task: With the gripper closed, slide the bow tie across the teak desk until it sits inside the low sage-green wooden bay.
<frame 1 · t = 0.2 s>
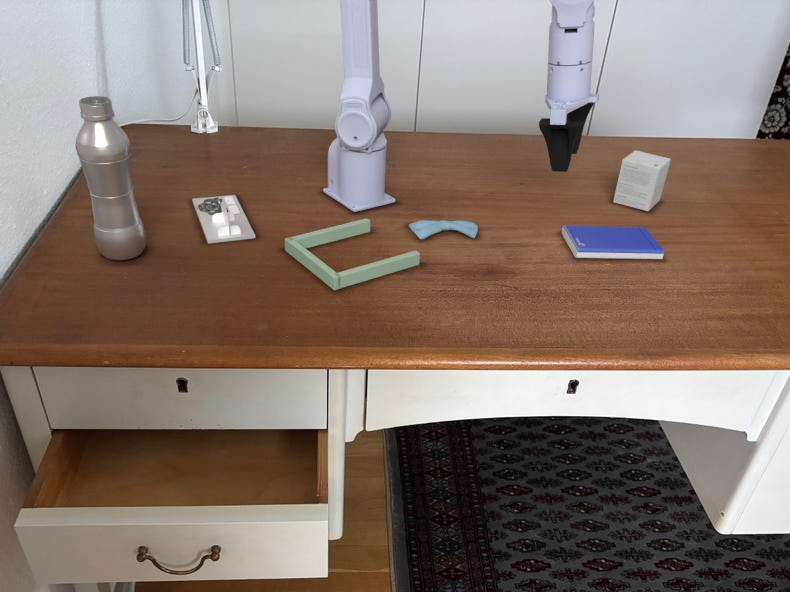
hand: (564, 161, 103), 10 cm above the table, tool pointing down, fingers open, 7 cm apart
product box: (635, 203, 118), on the table
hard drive: (609, 248, 104), on the table
bay: (353, 257, 98), on the table
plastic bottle: (123, 255, 96), on the table
grey board with parts: (222, 220, 106), on the table
bow tie: (444, 233, 106), on the table
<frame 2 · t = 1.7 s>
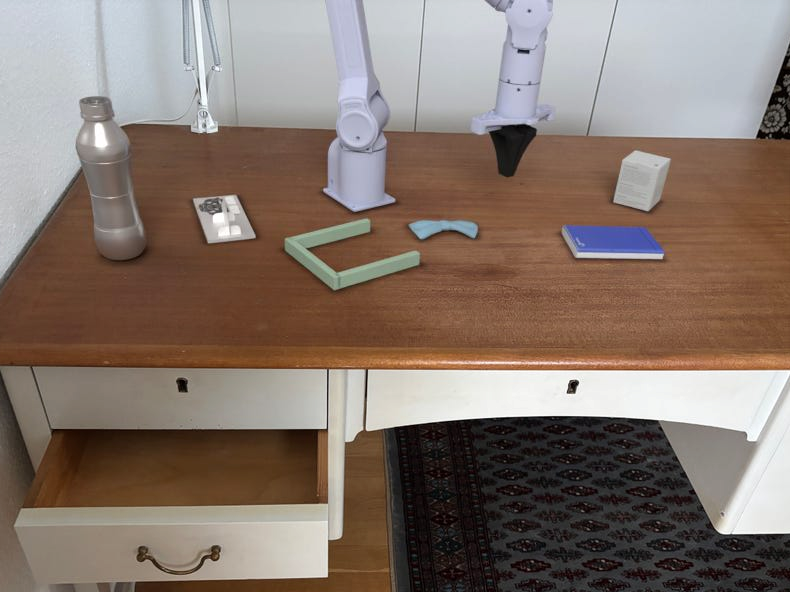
hand: (506, 174, 107), 7 cm above the table, tool pointing down, fingers closed
nothing on the table moved.
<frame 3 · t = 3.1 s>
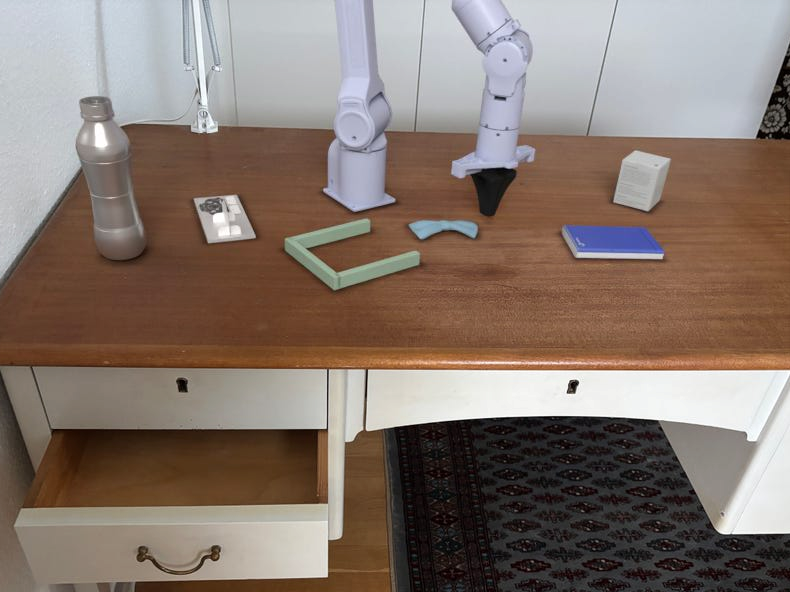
hand: (487, 214, 109), 1 cm above the table, tool pointing down, fingers closed
nothing on the table moved.
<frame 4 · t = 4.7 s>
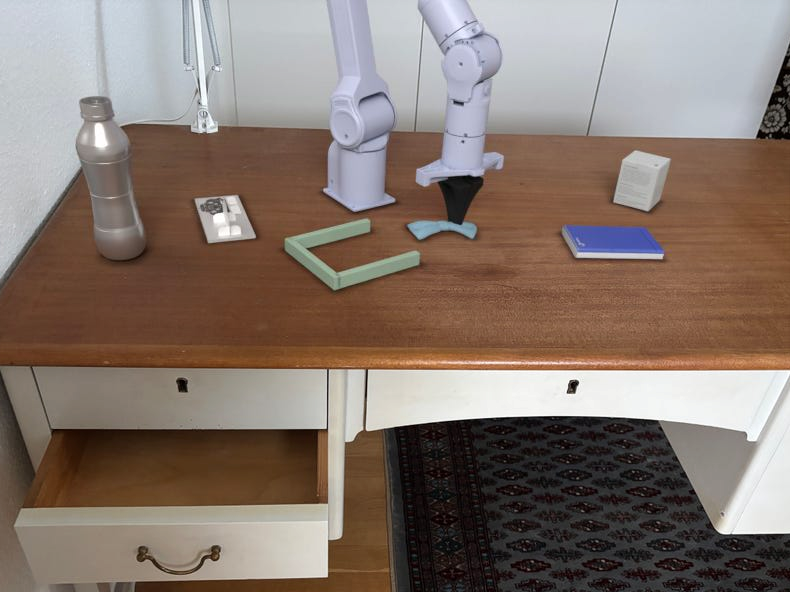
hand: (455, 222, 106), 1 cm above the table, tool pointing down, fingers closed
bow tie: (442, 233, 105), on the table, touching gripper
everything else where it was.
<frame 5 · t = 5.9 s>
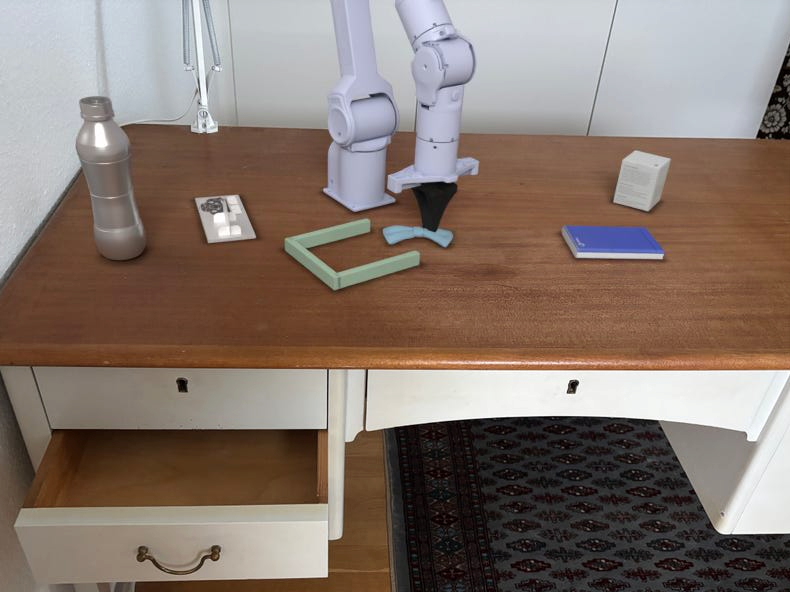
hand: (429, 229, 104), 1 cm above the table, tool pointing down, fingers closed
bow tie: (417, 239, 103), on the table, touching gripper
everything else where it was.
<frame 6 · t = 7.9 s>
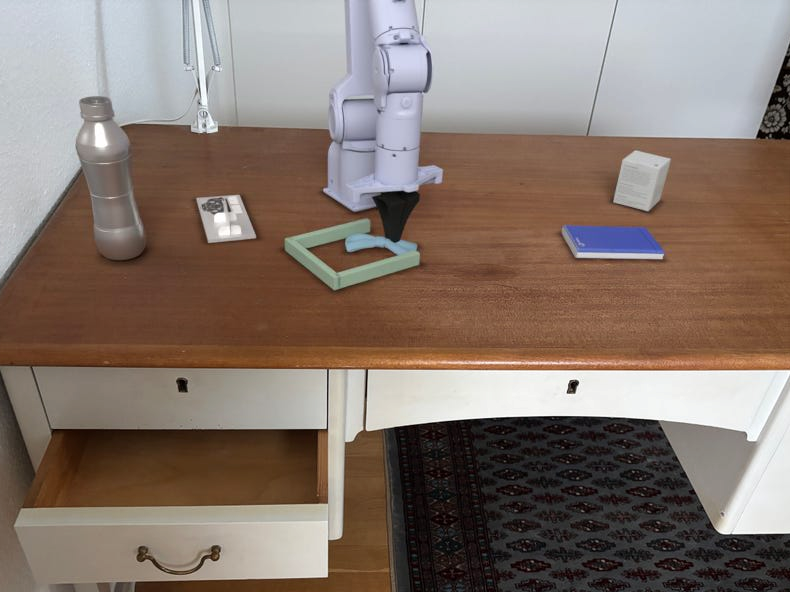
hand: (392, 239, 100), 1 cm above the table, tool pointing down, fingers closed
bow tie: (380, 250, 100), on the table, touching bay, gripper
everything else where it was.
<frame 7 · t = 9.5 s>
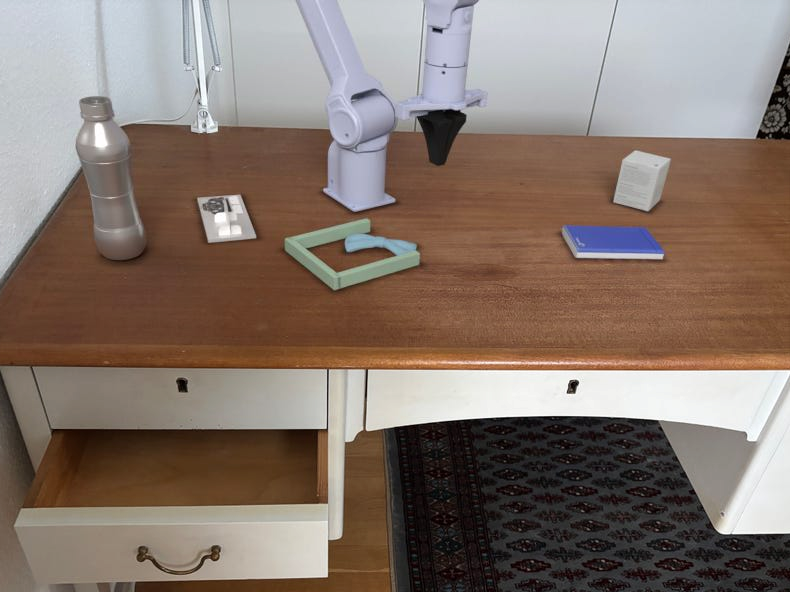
hand: (437, 163, 102), 9 cm above the table, tool pointing down, fingers closed
bow tie: (379, 250, 100), on the table
everything else where it was.
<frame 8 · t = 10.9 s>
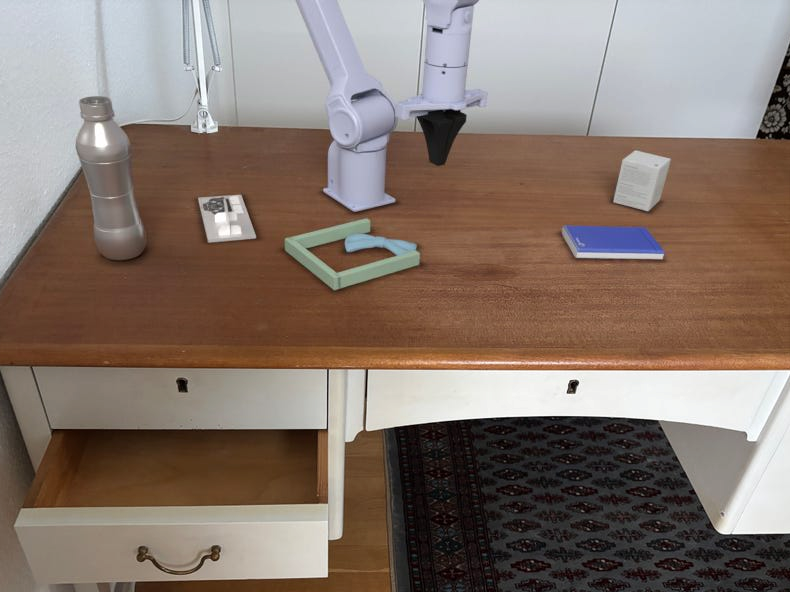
hand: (437, 163, 102), 9 cm above the table, tool pointing down, fingers closed
nothing on the table moved.
at the end: bow tie inside the target area on the bay (4.6 cm from its centre), point 0.0 cm above the bay's base; bow tie moved 11.4 cm from its start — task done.
